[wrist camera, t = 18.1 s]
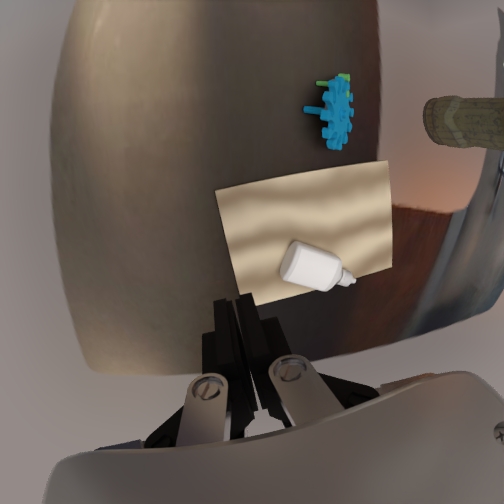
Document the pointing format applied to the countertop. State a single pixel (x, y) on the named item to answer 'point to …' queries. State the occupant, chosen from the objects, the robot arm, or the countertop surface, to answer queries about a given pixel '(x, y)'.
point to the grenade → (465, 122)
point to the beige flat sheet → (307, 224)
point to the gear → (335, 110)
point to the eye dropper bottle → (313, 268)
